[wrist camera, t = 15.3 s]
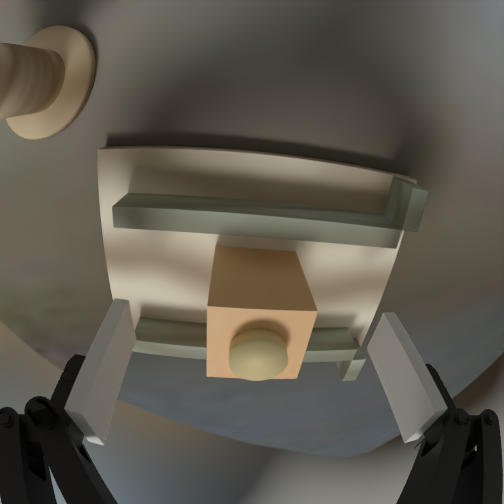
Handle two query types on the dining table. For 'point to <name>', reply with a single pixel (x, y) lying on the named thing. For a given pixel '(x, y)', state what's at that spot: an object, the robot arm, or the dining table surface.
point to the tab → (257, 314)
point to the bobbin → (46, 81)
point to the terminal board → (249, 237)
